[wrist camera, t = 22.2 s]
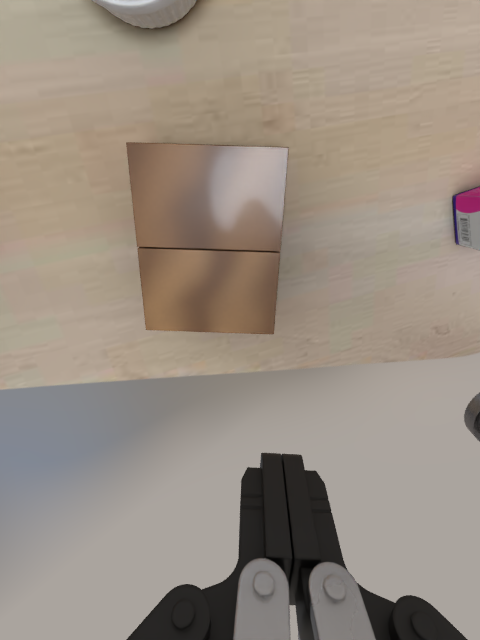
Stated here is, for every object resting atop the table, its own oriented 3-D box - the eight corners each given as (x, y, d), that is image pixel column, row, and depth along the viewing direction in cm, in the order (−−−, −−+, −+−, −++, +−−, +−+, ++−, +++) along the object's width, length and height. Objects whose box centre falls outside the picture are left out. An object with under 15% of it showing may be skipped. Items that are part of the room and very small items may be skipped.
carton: (281, 152, 33) (289, 146, 27) (269, 309, 41) (274, 335, 34) (149, 148, 33) (125, 141, 27) (161, 306, 41) (145, 330, 34)
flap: (279, 252, 31) (280, 252, 30) (273, 333, 34) (273, 334, 34) (138, 247, 31) (137, 248, 31) (146, 328, 34) (145, 330, 34)
